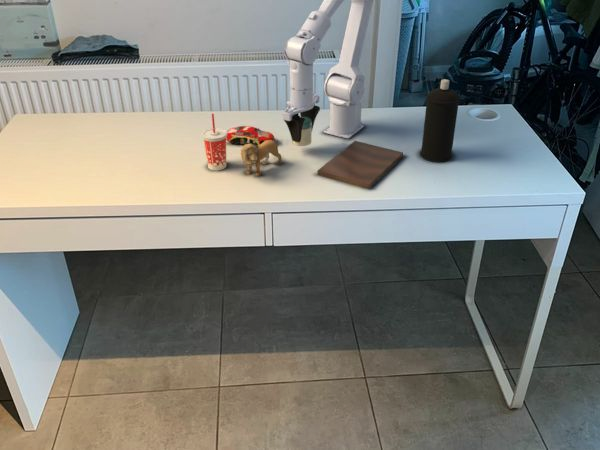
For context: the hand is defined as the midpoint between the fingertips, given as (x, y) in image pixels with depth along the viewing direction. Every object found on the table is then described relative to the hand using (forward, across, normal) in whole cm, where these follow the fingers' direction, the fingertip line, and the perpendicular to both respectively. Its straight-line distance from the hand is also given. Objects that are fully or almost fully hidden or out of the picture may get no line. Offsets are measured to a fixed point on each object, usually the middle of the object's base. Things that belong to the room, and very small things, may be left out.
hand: (301, 137), depth 160 cm
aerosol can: (+4, -16, +31) cm, 35 cm away
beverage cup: (+4, +18, -14) cm, 23 cm away
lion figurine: (+4, +14, -3) cm, 15 cm away
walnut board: (+4, -1, +17) cm, 18 cm away
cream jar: (+1, 0, 0) cm, 1 cm away
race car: (+4, +2, -15) cm, 16 cm away
